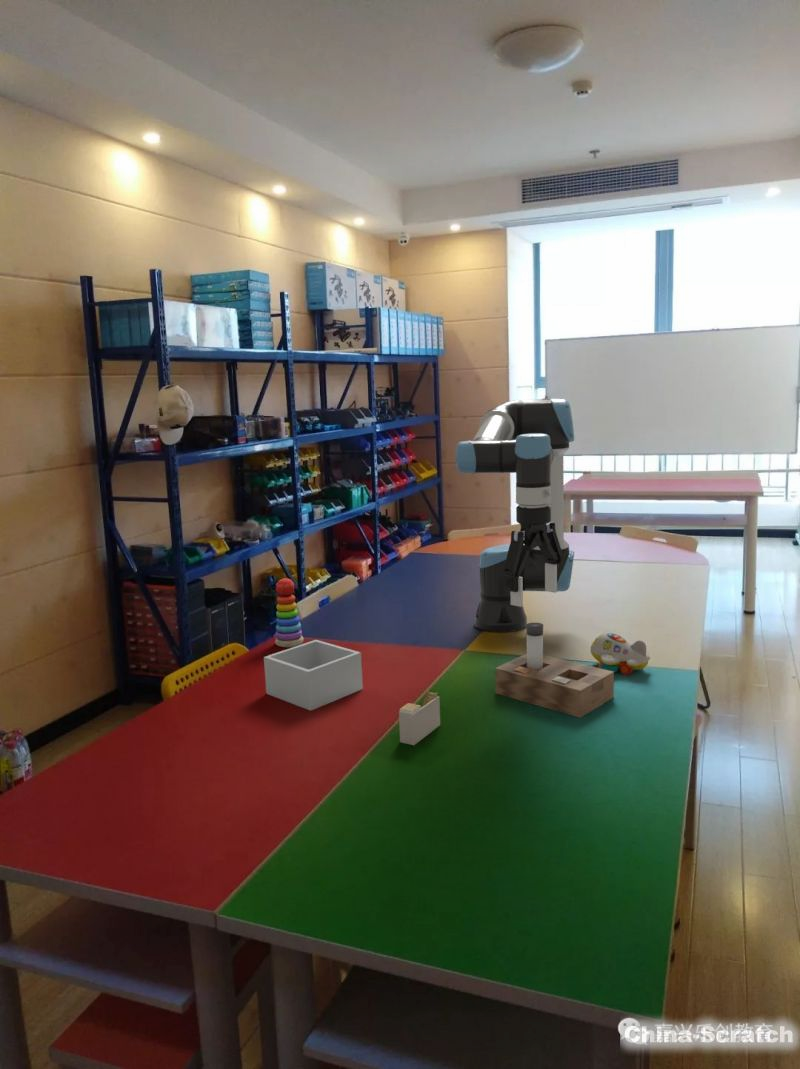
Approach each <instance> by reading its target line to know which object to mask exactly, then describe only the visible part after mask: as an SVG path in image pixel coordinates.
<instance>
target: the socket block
mask: <svg viewBox="0 0 800 1069" xmlns="http://www.w3.org/2000/svg"><path fill="white" fill-rule="evenodd" d="M494 677H495V678H494V680H495V681H494V682H495V685H494V686H495V694H497V695H501V696H504V697H507V698H511V699H514V700H518V701H522V702H524V703H527V704H531V705H536V706H539V707H542V708H546V709H548V710H552V711H555V712H559V713H563V714H566V715H569V716H573V717H576V718H580V719H581V718H582V717H584V716H586V715H588V714H589V713H591V712H593V711H595V710H596V709H597V708H599V707H601V706H602V705H604V704H605V703H607V702H609V701H610V700H612V699H613V698H614V696H615V694H614V693H615V691H614V688H615V681H614V680H615V672H613V671H609V670H605V669H600V668H598V667H596V666H591V665H587V664H583V663H579V662H575V661H569V660H566V659H562V658H558V657H553V656H550V655H546V654H543V668H542V669H540V670H538V671H537V670H533V669H529V668H527V653H525V654H522V655H520V656H518V657H516V658H514V659H512V660H509V661H507V662H504V663H503V664H501V665H499V666H497V667H494Z"/></svg>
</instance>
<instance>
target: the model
mask: <svg viewBox="0 0 800 1069" xmlns="http://www.w3.org/2000/svg"><path fill="white" fill-rule="evenodd" d="M438 694H439V692H438V691H437V692H431V691H430V689H428V690H427V693H426V695H425V698H424V700H423V703H422V706H421V705H420V704H416V703H411V702H407V703H406V704H405V705H403V706H402V707H400V708H399V712H398V722H399V723H398V724H399V742H400V743H403V744H407V745H411V746H415V745H417V744H418V743H420V741H421V740H423V739H424V738H425V737H427V736H429V734H431V733H432V732H433V731H435V730H437V728H439V727H440V726H441V706H440V705H441V703H440V696H439V695H438Z"/></svg>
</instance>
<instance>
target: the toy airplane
mask: <svg viewBox="0 0 800 1069" xmlns="http://www.w3.org/2000/svg"><path fill="white" fill-rule="evenodd" d="M590 653H591V655H592V657H593V658H594V659H595V660H596V661H597V662H598V663H599V664H598V667H597V668H600V669H605V670H609V671H613V672H614V673H616V672H617V671H618V670H619V671H620V672H621V674H622V675H624V676H628V675H631V674H632V672H633V670H642V669H644V668H646V667H647V666H648V664H649V662H650V659H651V657H650V655H649V654H647V645H646V643H645V641H643V640H641V639H640V640H637V641H635V642H633V643H632V644H631V643H630V642H629V641H627V640H626V638H624V637H622V636H621V635H619V634H616V633H613V632H609V633H608V632H604V633H602V634H600V635H599V636H597V637H596V638H595V639H594V640H593V641H592V643H591V645H590Z"/></svg>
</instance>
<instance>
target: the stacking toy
mask: <svg viewBox="0 0 800 1069" xmlns="http://www.w3.org/2000/svg"><path fill="white" fill-rule="evenodd" d="M275 590H276V592H277V594H278V596H277V598H276V601H277V604H276V607H275V608H276V609H277V610H276V613H275V614H276V617H277V618H276V619H275V621H276V622H275V623H276V625H275V629H276V631H275V635H274V636H275V640H274V644H275V645H276V646H278V647H281V648H293V647H296V646H299V645H302V644H304V643H303V642H304V640H305V639H304V637H303V631H302V629H301V628H302V624H301V622H300V621H301V619H300V616H299V615H298V614H299V611H298V609H297V604H296V596H295V595H294V594H293V593H294V591H295V583H294V582H293V581H292V579H290V578H288V577H284V578H281V579H279V580H278V581H277V582H276V586H275Z"/></svg>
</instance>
